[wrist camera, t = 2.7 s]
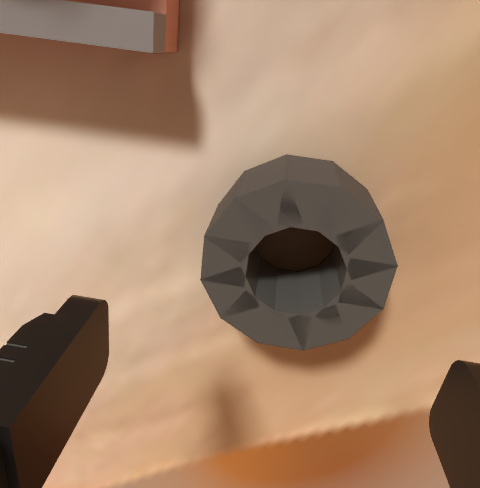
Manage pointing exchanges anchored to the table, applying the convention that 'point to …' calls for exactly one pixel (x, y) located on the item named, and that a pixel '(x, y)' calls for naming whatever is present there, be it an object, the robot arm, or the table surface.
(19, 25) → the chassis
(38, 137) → the table surface
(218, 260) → the wheel
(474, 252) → the table surface
